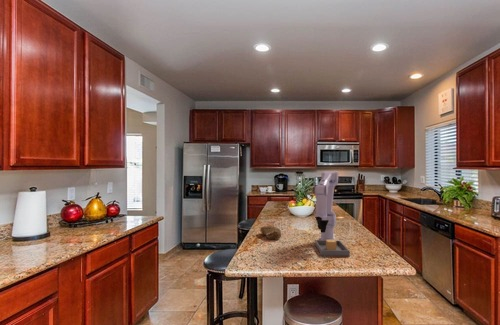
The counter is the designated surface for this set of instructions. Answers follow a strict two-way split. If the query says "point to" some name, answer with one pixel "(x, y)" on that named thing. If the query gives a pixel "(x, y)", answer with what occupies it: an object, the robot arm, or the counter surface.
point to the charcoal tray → (339, 252)
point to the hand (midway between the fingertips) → (321, 230)
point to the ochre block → (330, 244)
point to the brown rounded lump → (271, 232)
